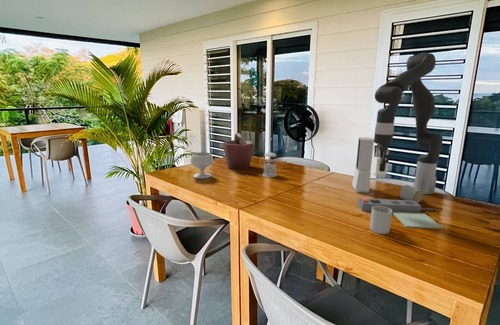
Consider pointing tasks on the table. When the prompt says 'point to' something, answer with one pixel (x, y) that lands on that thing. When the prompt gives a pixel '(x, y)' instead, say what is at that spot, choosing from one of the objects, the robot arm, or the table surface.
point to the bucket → (238, 153)
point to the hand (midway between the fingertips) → (379, 169)
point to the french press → (268, 171)
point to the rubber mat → (416, 220)
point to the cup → (380, 219)
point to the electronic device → (363, 165)
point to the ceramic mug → (411, 193)
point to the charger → (376, 168)
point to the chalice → (201, 163)
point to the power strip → (392, 205)
